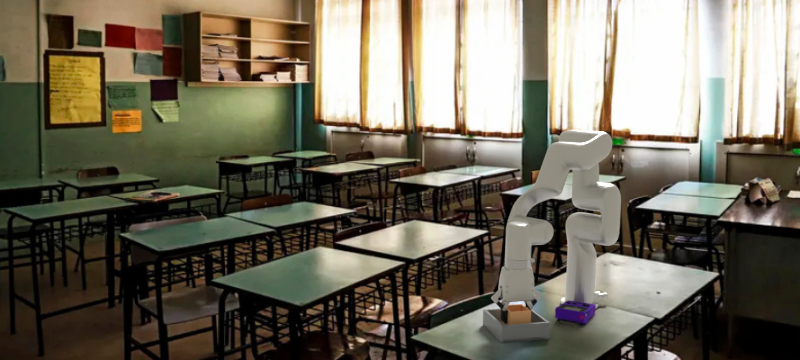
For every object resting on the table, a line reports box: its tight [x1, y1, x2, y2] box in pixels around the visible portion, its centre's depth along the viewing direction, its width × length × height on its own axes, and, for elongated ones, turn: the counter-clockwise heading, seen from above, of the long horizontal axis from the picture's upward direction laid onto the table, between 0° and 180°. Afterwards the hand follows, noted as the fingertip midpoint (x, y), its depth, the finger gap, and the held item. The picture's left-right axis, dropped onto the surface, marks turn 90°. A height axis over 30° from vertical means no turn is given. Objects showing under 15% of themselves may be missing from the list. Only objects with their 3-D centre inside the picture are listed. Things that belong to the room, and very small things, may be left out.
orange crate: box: [501, 303, 531, 325], centre depth 203 cm, size 7×7×5 cm
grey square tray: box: [482, 307, 551, 344], centre depth 203 cm, size 15×15×5 cm
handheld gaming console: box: [554, 300, 597, 327], centre depth 217 cm, size 9×5×15 cm
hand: (515, 320), depth 203 cm, fingers closed on orange crate, 6 cm apart
